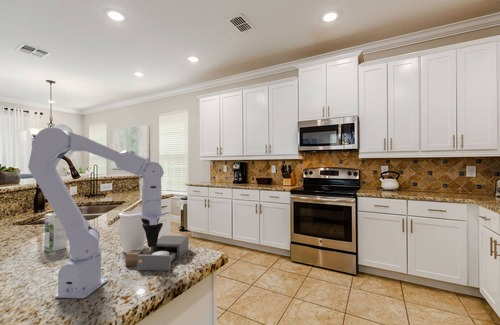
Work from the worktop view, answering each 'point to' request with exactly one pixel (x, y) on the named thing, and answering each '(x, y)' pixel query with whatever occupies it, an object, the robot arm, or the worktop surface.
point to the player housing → (172, 245)
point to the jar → (131, 231)
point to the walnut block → (132, 257)
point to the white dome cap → (161, 253)
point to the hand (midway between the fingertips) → (151, 242)
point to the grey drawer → (155, 262)
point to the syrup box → (54, 233)
